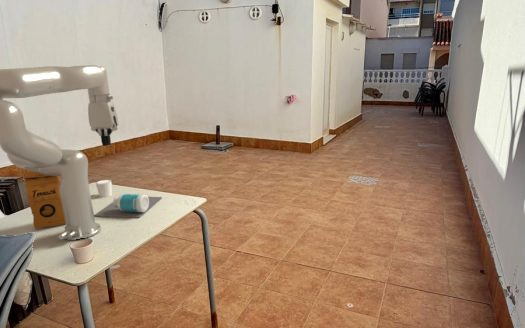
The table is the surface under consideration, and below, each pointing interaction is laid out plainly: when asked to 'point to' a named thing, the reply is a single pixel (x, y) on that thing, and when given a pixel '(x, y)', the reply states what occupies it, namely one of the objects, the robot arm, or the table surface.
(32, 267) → the table surface
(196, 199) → the table surface
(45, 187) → the coffee package
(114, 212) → the mat
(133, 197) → the pill bottle
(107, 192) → the white ridged cylinder
